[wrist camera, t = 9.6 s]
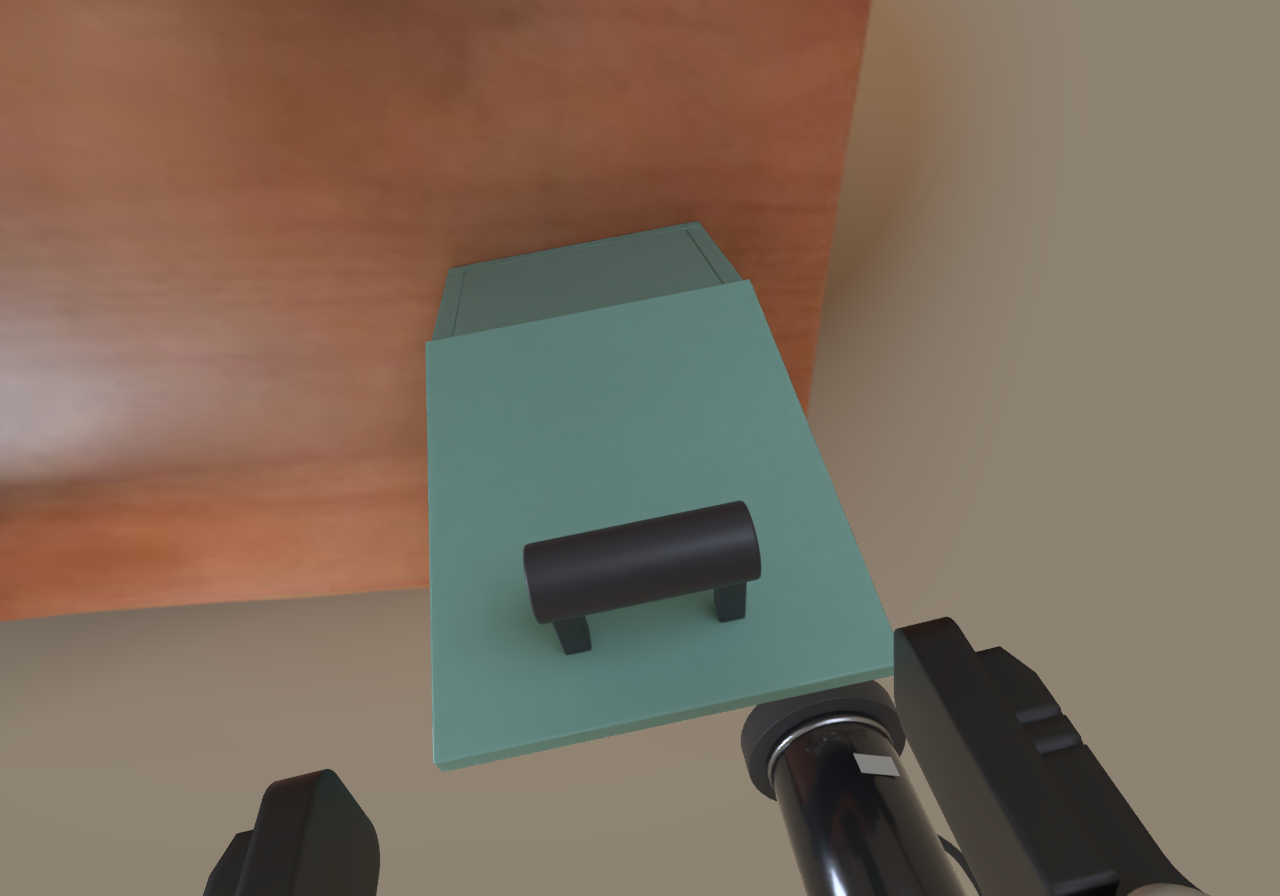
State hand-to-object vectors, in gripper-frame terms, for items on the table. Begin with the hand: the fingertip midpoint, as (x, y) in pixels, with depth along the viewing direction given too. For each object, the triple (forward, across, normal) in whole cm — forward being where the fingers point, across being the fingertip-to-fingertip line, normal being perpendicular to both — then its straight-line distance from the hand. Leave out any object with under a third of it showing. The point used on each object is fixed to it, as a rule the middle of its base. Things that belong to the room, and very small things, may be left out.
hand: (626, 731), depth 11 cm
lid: (+12, 0, -5) cm, 13 cm away
